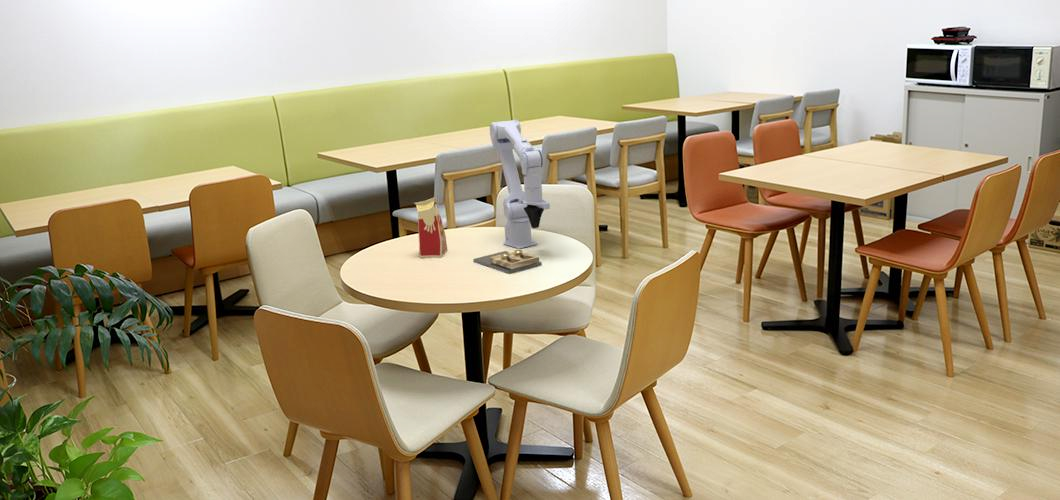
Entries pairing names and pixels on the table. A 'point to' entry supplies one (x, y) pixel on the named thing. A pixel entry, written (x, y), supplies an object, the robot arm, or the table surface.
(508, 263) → the panel
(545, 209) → the robot arm
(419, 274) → the table surface
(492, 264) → the silver double slider board
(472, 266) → the table surface
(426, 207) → the red snack bag
